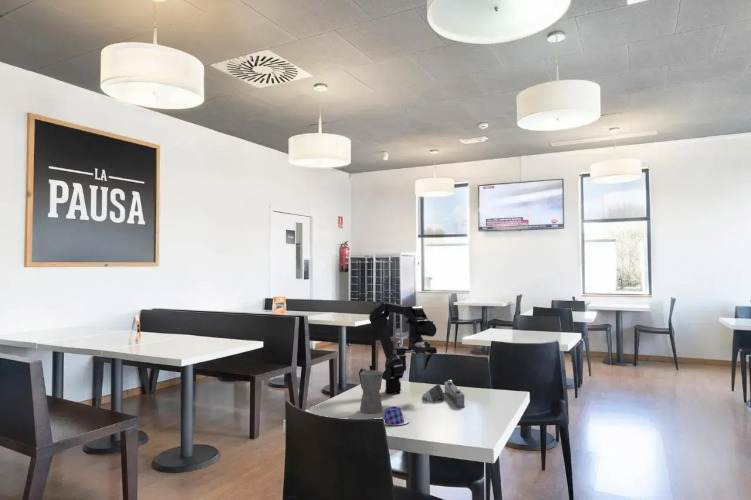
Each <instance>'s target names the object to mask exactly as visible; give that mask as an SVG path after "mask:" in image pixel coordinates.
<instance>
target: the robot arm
mask: <svg viewBox="0 0 751 500" xmlns="http://www.w3.org/2000/svg"><path fill="white" fill-rule="evenodd" d="M391 313H394V314H399V315H402V316H404V317H405V318H407V320H406V321H405V322H404V323H405V324H406V325H407V324H408V335H407V339H408V345H407V348H405V347H403V346H394V345H393V342H392V338H391V335H390V333H389V329H388V325H389V324H388V323H389V319H388V318H389V317H390V315H391ZM368 320H369V323H370V324H371V326H372V327H373V328H374V329H375V330H376V333H377V335H378V338H379V341H380V344H381V347H382V351H383V353H384V357H385V364H384V368H385V370H384V371H383V372H382V373H383V376H382V380H384V381H385V389H384V392H385V394H387V395H388V394H390V395H391V394H392V395H393V394H401V392H402V391H401V390H402V388H401V387H402V384H401V381H400V380H401V379H403V377H404V375H405V372H406V371H407V361H406V360H407V359H406V358H407V355H406V354H409V353H415V354H417V355H419V354H422V355H423V370H425V371H426V370H427V367H428V364H429V361H430V359H431V358H432V356H433V357H434V356H435V355H436V354H437V353H438V349H437V347H436V346H434V345H431V342H430V341H424V339H423V336H426V337H430V338H431V337H434V336H436V334H437V326H436V324H435V323H434V321H433V320H429V318H428V316H427V314H426V313H425V310H424V308H423V306H421V305H411V306H410V305H409V306H408V305H402V304H398V303H394V302H391V301H386V302H382V303H381V304H380V305H379V306H378V307H376V308H374V309H373V311H371V312H370V314H369V316H368Z"/></svg>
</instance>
